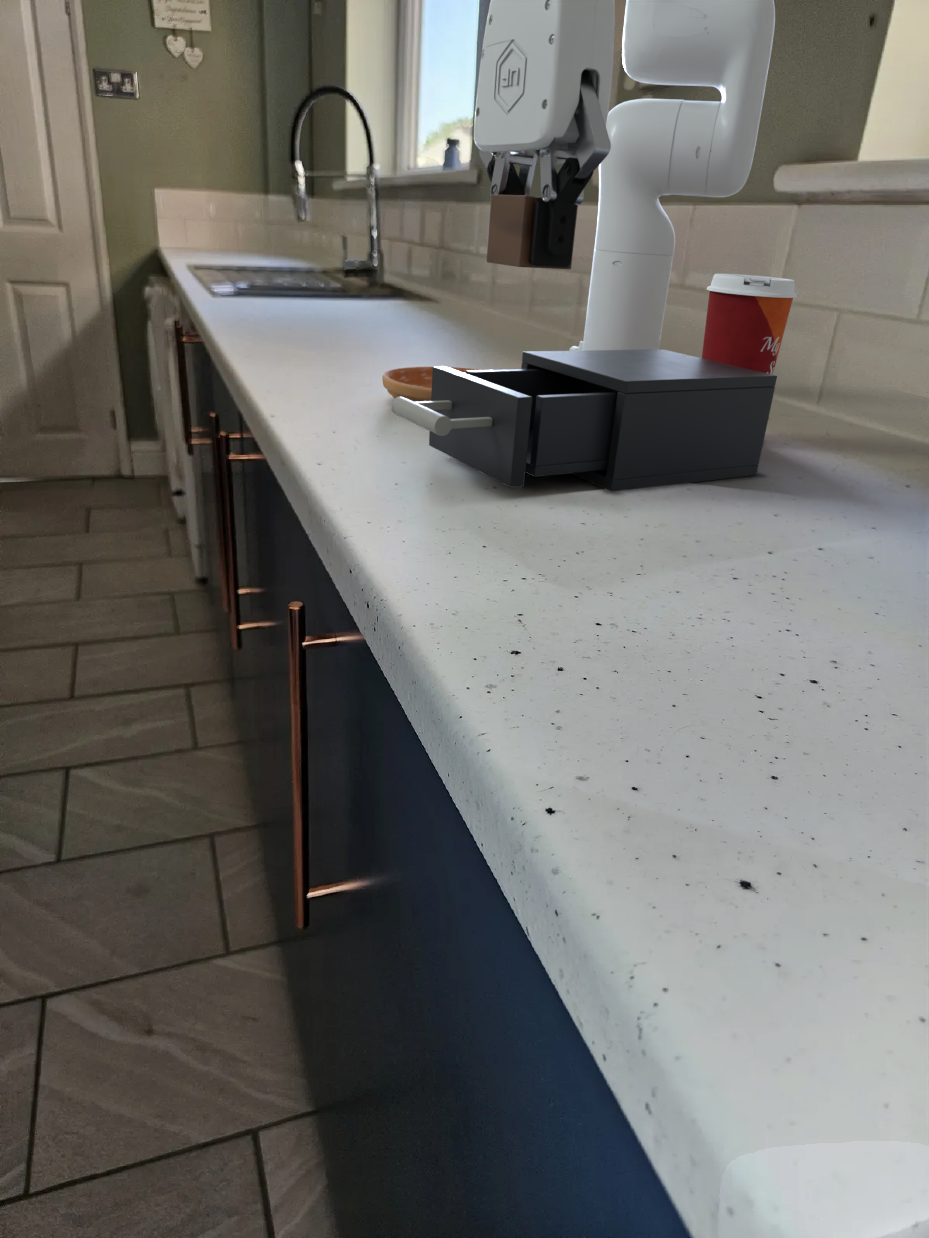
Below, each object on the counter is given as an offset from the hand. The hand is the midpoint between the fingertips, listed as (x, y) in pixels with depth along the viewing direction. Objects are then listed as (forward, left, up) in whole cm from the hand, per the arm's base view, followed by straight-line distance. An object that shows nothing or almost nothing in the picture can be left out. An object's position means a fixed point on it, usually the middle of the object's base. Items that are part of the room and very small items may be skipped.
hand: (529, 260), depth 63 cm
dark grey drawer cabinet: (0, +13, -16) cm, 20 cm away
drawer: (0, +1, -15) cm, 15 cm away
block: (0, 0, 0) cm, 0 cm away
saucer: (-24, +9, -16) cm, 30 cm away
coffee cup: (-5, +29, -16) cm, 33 cm away
